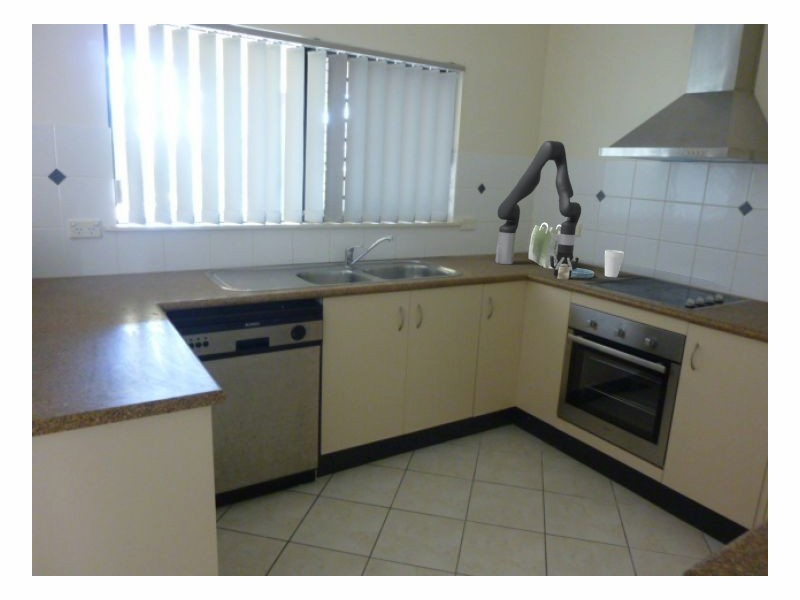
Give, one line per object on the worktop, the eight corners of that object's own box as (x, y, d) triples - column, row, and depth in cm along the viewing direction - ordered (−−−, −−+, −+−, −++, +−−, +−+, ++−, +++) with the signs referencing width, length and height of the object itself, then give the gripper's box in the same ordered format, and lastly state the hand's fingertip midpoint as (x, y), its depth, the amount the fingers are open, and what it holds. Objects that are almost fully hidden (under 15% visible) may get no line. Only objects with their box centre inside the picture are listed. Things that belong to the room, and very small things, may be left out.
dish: (566, 277, 285) (566, 272, 284) (557, 271, 300) (557, 266, 300) (597, 278, 285) (598, 274, 284) (587, 273, 301) (587, 268, 300)
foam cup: (603, 273, 302) (607, 249, 299) (622, 276, 298) (625, 251, 295) (600, 275, 294) (603, 251, 291) (618, 278, 290) (622, 253, 287)
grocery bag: (569, 269, 309) (575, 226, 304) (545, 268, 308) (550, 225, 303) (549, 259, 340) (554, 220, 335) (527, 258, 339) (531, 219, 334)
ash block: (558, 278, 279) (559, 267, 278) (555, 276, 284) (556, 265, 283) (568, 279, 279) (569, 267, 278) (565, 277, 284) (566, 265, 283)
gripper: (553, 243, 274) (549, 277, 278) (583, 245, 274) (578, 279, 278) (549, 241, 281) (545, 274, 285) (578, 243, 281) (574, 276, 285)
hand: (562, 277), depth 281 cm, fingers open, 5 cm apart
